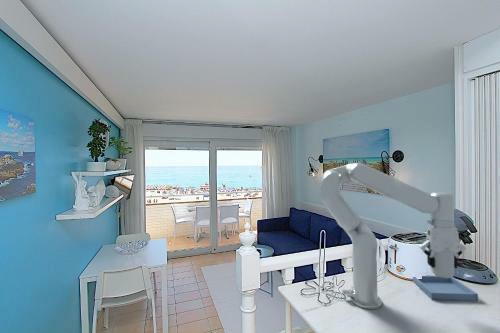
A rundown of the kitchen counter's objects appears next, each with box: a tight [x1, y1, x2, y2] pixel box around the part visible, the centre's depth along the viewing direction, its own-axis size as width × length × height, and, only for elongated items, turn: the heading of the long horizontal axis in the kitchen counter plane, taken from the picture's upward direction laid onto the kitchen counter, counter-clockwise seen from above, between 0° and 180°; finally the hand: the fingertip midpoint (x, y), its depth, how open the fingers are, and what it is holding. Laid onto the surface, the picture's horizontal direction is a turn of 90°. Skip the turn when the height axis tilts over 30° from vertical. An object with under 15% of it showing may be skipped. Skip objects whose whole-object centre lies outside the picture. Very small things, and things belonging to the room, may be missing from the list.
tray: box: [412, 274, 479, 302], centre depth 110 cm, size 18×16×3 cm
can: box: [430, 248, 455, 278], centre depth 97 cm, size 8×8×12 cm
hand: (442, 266), depth 97 cm, fingers closed on can, 7 cm apart
